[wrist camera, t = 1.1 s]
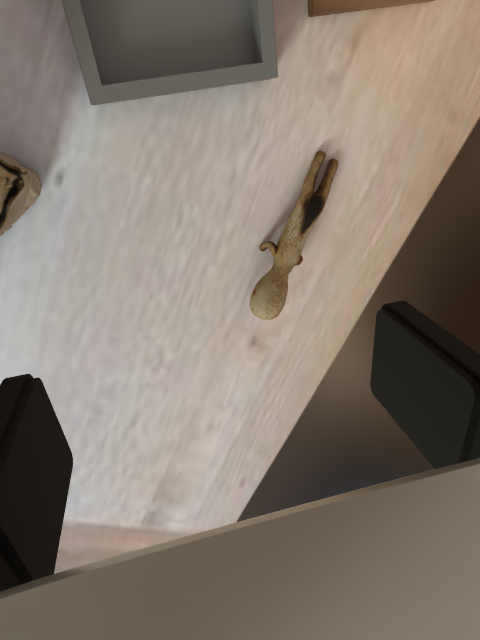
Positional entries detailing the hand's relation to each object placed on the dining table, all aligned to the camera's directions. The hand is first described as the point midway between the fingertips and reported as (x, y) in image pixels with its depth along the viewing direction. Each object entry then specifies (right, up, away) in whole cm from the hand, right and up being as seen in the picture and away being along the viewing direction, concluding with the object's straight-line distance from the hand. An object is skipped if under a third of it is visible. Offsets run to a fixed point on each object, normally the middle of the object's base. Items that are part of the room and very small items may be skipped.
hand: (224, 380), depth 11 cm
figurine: (+5, +10, +26) cm, 28 cm away
